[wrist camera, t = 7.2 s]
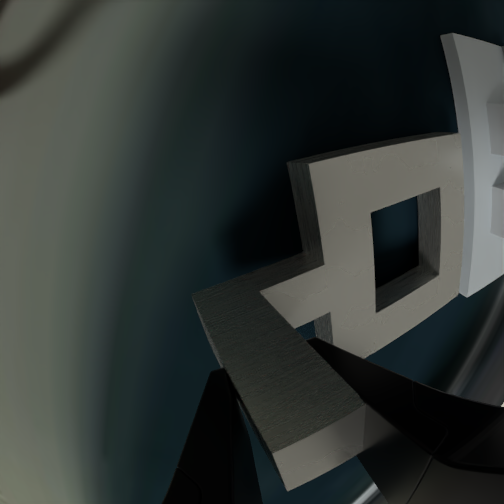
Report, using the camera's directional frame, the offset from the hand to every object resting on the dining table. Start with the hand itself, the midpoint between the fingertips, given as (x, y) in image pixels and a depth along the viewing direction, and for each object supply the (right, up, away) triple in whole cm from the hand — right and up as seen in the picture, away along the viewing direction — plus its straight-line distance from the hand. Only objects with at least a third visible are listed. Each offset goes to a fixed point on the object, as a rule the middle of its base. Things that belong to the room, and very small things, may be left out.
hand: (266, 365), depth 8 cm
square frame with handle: (+4, +3, +5) cm, 7 cm away
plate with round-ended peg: (+17, +9, +7) cm, 21 cm away
